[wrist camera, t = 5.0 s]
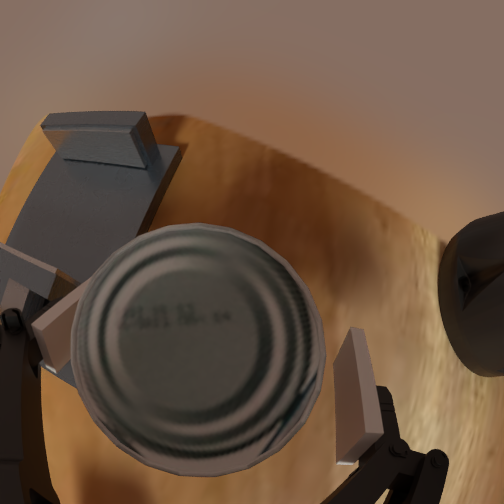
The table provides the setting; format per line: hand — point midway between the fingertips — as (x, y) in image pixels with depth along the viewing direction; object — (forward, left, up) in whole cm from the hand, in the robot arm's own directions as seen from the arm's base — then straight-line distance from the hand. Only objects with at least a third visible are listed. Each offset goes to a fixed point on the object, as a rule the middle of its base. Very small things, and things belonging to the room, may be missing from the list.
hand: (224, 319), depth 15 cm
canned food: (+2, +1, -5) cm, 5 cm away
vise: (+8, -14, -5) cm, 17 cm away
